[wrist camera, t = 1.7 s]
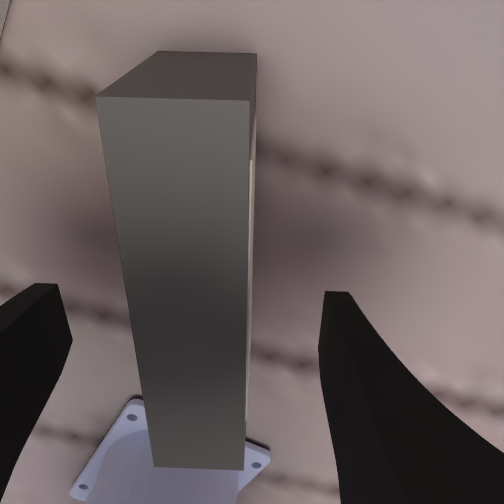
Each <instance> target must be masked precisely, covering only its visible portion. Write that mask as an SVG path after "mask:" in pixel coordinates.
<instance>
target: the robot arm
mask: <svg viewBox="0 0 504 504" xmlns="http://www.w3.org/2000/svg"><path fill="white" fill-rule="evenodd" d="M72 341H73V339H72V335H71V332H70V328H69V324H68V321H67V317H66V313H65V310H64V306H63V302H62V299H61V295H60V291H59V288H58V284H48V283H35V284H33V285H31V286H30V287H28V288H26V289H25V290H23V291H22V292H20V293H19V294H17V295H16V296H14V297H13V298H11V299H10V300H8V301H7V302H5V303H4V304H3V305H1V306H0V502H1V499H2V497H3V494H4V492H5V489H6V487H7V484H8V482H9V479H10V476H11V474H12V471H13V469H14V466H15V464H16V462H17V460H18V458H19V456H20V453H21V451H22V449H23V447H24V445H25V443H26V441H27V439H28V437H29V435H30V434H31V432H32V430H33V428H34V426H35V424H36V422H37V420H38V418H39V416H40V414H41V412H42V410H43V409H44V407H45V405H46V403H47V401H48V399H49V397H50V395H51V393H52V391H53V389H54V387H55V385H56V383H57V381H58V379H59V377H60V375H61V373H62V370H63V367H64V365H65V362H66V359H67V356H68V353H69V350H70V347H71V344H72ZM318 353H319V368H320V380H321V387H322V392H323V397H324V402H325V408H326V413H327V418H328V423H329V428H330V433H331V438H332V443H333V449H334V454H335V459H336V465H337V472H338V479H339V489H340V499H341V504H504V453H503V452H501V451H500V450H499V449H497V448H496V447H494V446H493V445H492V444H490V443H489V442H488V441H486V440H485V439H484V438H483V437H481V436H480V435H479V434H477V433H476V432H475V431H474V430H473V429H471V428H470V427H469V426H468V425H466V424H465V423H464V422H463V421H462V420H460V419H459V418H458V417H457V416H455V415H454V414H453V413H452V412H451V411H450V410H448V409H447V408H446V407H445V406H444V405H443V404H442V403H441V402H439V401H438V400H437V399H436V398H435V397H434V396H433V395H432V394H431V393H430V392H429V391H428V390H427V389H426V388H425V387H424V386H423V385H422V384H421V383H420V382H419V381H418V380H417V379H416V378H415V377H414V376H413V375H412V373H411V372H410V371H409V370H408V369H407V368H406V367H405V366H404V365H403V363H402V362H401V361H400V360H399V359H398V358H397V356H396V355H395V354H394V353H393V352H392V351H391V349H390V348H389V347H388V346H387V344H386V343H385V342H384V340H383V339H382V338H381V337H380V335H379V334H378V333H377V332H376V330H375V329H374V328H373V326H372V325H371V323H370V322H369V321H368V319H367V318H366V316H365V315H364V314H363V312H362V311H361V309H360V308H359V306H358V305H357V303H356V302H355V300H354V299H353V297H352V296H351V295H350V293H349V292H336V291H325V295H324V303H323V311H322V320H321V328H320V336H319V344H318ZM270 461H271V453H270V452H269V451H268V450H266V449H264V448H262V447H259V446H257V445H254V444H252V443H249V442H247V441H245V456H244V471H238V470H214V469H191V468H167V467H154V464H153V458H152V451H151V445H150V439H149V433H148V426H147V420H146V414H145V408H144V401H143V400H140V399H133V400H130V401H129V402H128V403H127V405H126V406H125V408H124V409H123V411H122V412H121V414H120V415H119V417H118V418H117V420H116V421H115V423H114V424H113V426H112V427H111V429H110V430H109V432H108V433H107V435H106V436H105V437H104V439H103V440H102V442H101V443H100V445H99V446H98V448H97V449H96V451H95V452H94V454H93V455H92V457H91V458H90V460H89V461H88V463H87V464H86V466H85V467H84V469H83V470H82V472H81V473H80V475H79V476H78V478H77V479H76V481H75V482H74V484H73V485H72V487H71V489H70V492H69V494H70V496H71V497H72V498H74V499H76V500H79V501H82V502H84V504H237V494H238V493H239V492H240V491H241V490H242V489H243V488H244V487H245V486H246V485H247V484H248V483H249V482H250V481H251V480H252V479H253V478H254V477H255V476H256V475H257V474H258V473H259V472H261V471H262V470H263V469H264V468H265V467H266V466H267V465H268V464H269V463H270Z"/></svg>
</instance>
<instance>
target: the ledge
mask: <svg viewBox="0 0 504 504" xmlns="http://www.w3.org/2000/svg"><path fill="white" fill-rule="evenodd" d="M9 3H10V0H0V38H1V34H2V30H3V26H4V22H5V19H6V15H7V11H8V7H9Z"/></svg>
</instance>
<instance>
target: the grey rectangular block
mask: <svg viewBox="0 0 504 504" xmlns="http://www.w3.org/2000/svg"><path fill="white" fill-rule="evenodd" d="M256 71H257V54H256V53H217V52H178V51H157V52H156V53H155V54H153V55H152V56H150V57H149V58H148V59H146V60H145V61H143V62H142V63H141V64H139V65H138V66H136V67H135V68H134V69H132V70H131V71H129V72H128V73H127V74H125V75H124V76H123V77H121V78H120V79H118V80H117V81H116V82H114V83H113V84H111V85H110V86H109V87H107V88H106V89H104V90H103V91H102V92H100V93H99V94H97V95H96V96H95V101H96V107H97V114H98V120H99V126H100V132H101V139H102V145H103V151H104V157H105V164H106V170H107V176H108V182H109V189H110V195H111V201H112V207H113V214H114V220H115V226H116V233H117V239H118V245H119V251H120V258H121V264H122V270H123V276H124V283H125V289H126V295H127V301H128V308H129V314H130V320H131V326H132V333H133V339H134V345H135V351H136V358H137V364H138V370H139V376H140V383H141V389H142V395H143V401H144V408H145V414H146V420H147V426H148V433H149V439H150V445H151V451H152V458H153V464H154V467H167V468H191V469H214V470H238V471H244V456H245V437H246V421H247V409H248V389H249V369H250V348H251V319H252V278H253V236H254V195H255V154H256Z"/></svg>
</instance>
